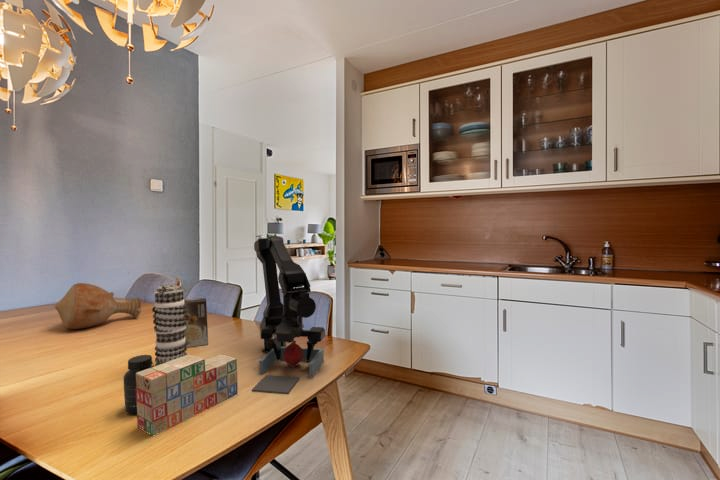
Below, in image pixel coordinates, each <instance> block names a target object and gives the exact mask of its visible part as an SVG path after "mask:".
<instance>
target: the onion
mask: <svg viewBox="0 0 720 480" xmlns="http://www.w3.org/2000/svg"><path fill="white" fill-rule="evenodd" d="M286 347H287V348H286V349H285V351H284V360H283V361H284V362H285V363H286V364H287V365H288V366H290V367H292V368H294V367H296V366H297V365H299V363H300V362H302V361H301V360H302V358H303V350H302V348H303V347H301V346H300V345H299V344H297V341H296V340H293V341H292V342H290V343H289V345H286Z"/></svg>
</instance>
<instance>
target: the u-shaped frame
mask: <svg viewBox="0 0 720 480" xmlns="http://www.w3.org/2000/svg"><path fill="white" fill-rule="evenodd" d="M286 348H287V346H286V347H281V357H280V360H279V361H285V360H284V351H285V349H286ZM301 348H302V350H303V358H302V360H301V361H300V362H307V347H301ZM324 356H325V355H324V348H313V351H312V354H311V357H310V360H309V362H308V363H309V364H308V367H309V370H308V373H309V376H308V377H309V378H310V379H314V377H315V376H316V373H317V372H318V370H319V369H320V367H321V366H322V365H323V363H324V361H325V360H324V359H325V358H324ZM277 361H278V360H277V357H276V354H275V352H274V349H272V350H271V351H270V352H266V354H264V356H263V357H261V358H260V359H259V362H258V369H259V370H258V371H259V372H258V373H259V375H264V373H266V372H267V371H268V370H269V369H270V368H271V367H272V366H273V364H275V363H276V362H277Z"/></svg>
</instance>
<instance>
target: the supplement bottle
mask: <svg viewBox="0 0 720 480" xmlns="http://www.w3.org/2000/svg"><path fill="white" fill-rule="evenodd" d="M153 363H154V362H153V356H152V355H150V354H141V355H136V356H133V357H130V358H129V359H128V360H127V371H126V372H125V373H124V375H123V394H124V395H123V396H124V410H125V412H126V414H128V415H132V416H137V401H136V387H137V386H136V373H137V372H140V371H143V370H146V369H149V368H152V367H155V366H154V365H153Z"/></svg>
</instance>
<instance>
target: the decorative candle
mask: <svg viewBox="0 0 720 480" xmlns="http://www.w3.org/2000/svg"><path fill="white" fill-rule="evenodd" d="M184 291H185V289H184V288H182V286H180V285H179V284H165V285H160V286H158V287H157V289H156V290H155V291H154V292H153V293H154V298H155V300H154V306H153V307H152V308H151V309H152V310H151V311H152V312H153V313H154V314H152V318H153V320H152V321H153V322H152V324H154V325H155V326H153V330H154V331H153V332H154V333H155V334H156V338H155V339H156V341H155V347H154V350H155V352H154V355H155V358H154V361H155V364H154V365H155V366H158V365H160V364H163V363H166V362H168V361H171V360H174V359H177V358H180V357H183V356H185V355H188V353H187V350H188V347H187V348H186V347H185V346H186V345H187V343H186V342H185V336H184V333H185V331H184V329H186V326H185V325H186V322H184V321H185V320H186V319H187V318H186V317H184V314H185V313H187V311H185V310H184V309H185V308H187V306H185V305H184V300H185V299H184ZM155 366H154V367H155Z"/></svg>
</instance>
